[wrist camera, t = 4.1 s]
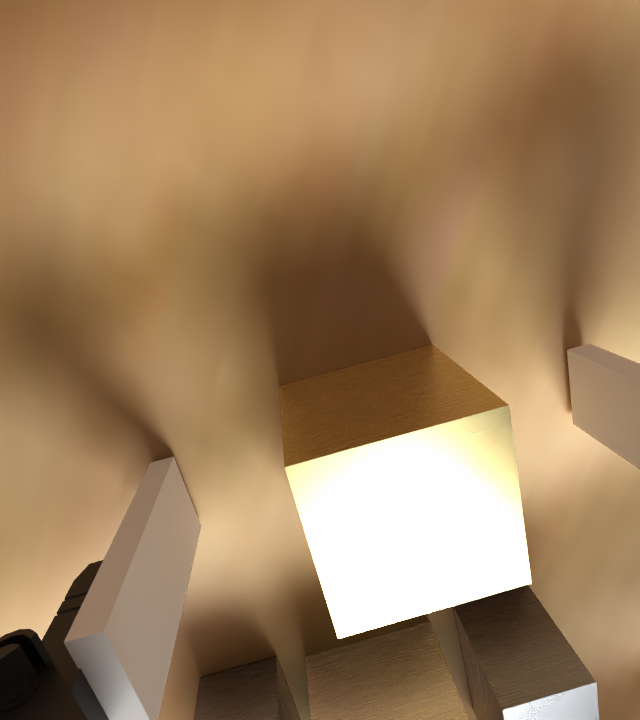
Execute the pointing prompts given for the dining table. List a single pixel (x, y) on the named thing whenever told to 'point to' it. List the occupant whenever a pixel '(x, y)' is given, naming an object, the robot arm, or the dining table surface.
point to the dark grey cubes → (482, 663)
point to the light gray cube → (384, 679)
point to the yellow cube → (404, 487)
